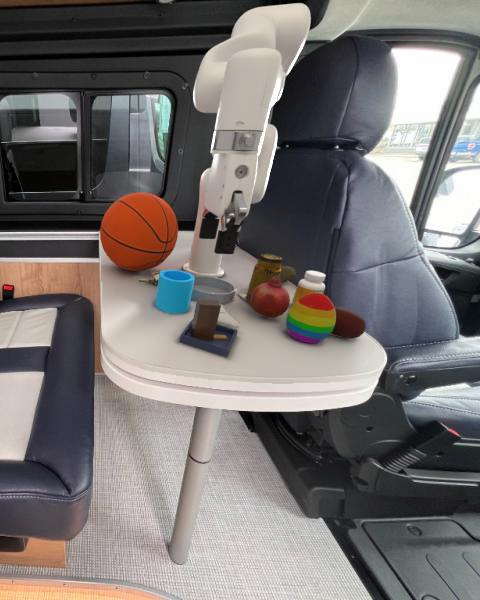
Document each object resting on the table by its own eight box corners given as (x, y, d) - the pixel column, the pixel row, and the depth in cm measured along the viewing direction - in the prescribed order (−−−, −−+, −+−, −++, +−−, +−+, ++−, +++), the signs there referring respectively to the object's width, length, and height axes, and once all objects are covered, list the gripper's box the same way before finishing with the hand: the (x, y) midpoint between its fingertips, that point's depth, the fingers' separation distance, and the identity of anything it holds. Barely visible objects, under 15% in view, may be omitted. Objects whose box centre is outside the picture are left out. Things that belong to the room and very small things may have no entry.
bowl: (190, 281, 96) (192, 272, 94) (237, 292, 89) (240, 282, 88) (176, 296, 86) (178, 286, 84) (227, 309, 79) (230, 298, 78)
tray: (192, 324, 72) (193, 317, 71) (236, 337, 67) (237, 330, 67) (179, 342, 65) (180, 334, 64) (227, 357, 61) (229, 350, 60)
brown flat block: (189, 333, 67) (196, 299, 64) (223, 335, 67) (232, 301, 63) (192, 339, 65) (200, 304, 62) (227, 341, 65) (237, 306, 61)
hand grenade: (294, 283, 97) (262, 289, 96) (283, 270, 100) (252, 277, 100) (301, 271, 93) (268, 278, 93) (289, 259, 97) (257, 265, 96)
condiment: (264, 294, 88) (276, 252, 83) (282, 308, 81) (297, 263, 75) (238, 294, 88) (249, 252, 83) (254, 308, 80) (267, 262, 75)
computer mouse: (136, 278, 96) (137, 265, 95) (185, 280, 96) (188, 267, 94) (139, 288, 90) (141, 274, 88) (192, 290, 89) (195, 276, 88)
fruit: (283, 313, 78) (296, 275, 74) (284, 328, 72) (298, 286, 67) (247, 306, 81) (257, 268, 77) (245, 319, 75) (256, 279, 71)
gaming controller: (243, 317, 67) (209, 314, 67) (239, 333, 68) (205, 330, 69) (228, 298, 76) (198, 295, 77) (224, 313, 78) (195, 310, 78)
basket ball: (78, 249, 108) (95, 179, 94) (131, 244, 120) (154, 181, 106) (120, 291, 93) (147, 215, 79) (175, 280, 106) (208, 212, 92)
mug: (187, 316, 75) (194, 284, 72) (152, 310, 78) (157, 278, 74) (190, 296, 86) (195, 267, 82) (159, 291, 88) (163, 263, 85)
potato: (362, 319, 70) (347, 343, 70) (318, 300, 73) (304, 323, 73) (380, 319, 63) (362, 346, 63) (330, 298, 66) (314, 323, 67)
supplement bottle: (307, 316, 77) (321, 278, 73) (285, 307, 81) (297, 271, 77) (320, 312, 79) (334, 275, 75) (298, 303, 84) (310, 268, 80)
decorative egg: (333, 339, 67) (352, 296, 63) (317, 351, 63) (336, 306, 59) (292, 323, 73) (306, 282, 69) (274, 333, 69) (289, 291, 65)
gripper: (287, 145, 45) (254, 261, 52) (239, 144, 60) (219, 234, 68) (232, 143, 45) (208, 259, 53) (198, 143, 61) (183, 233, 68)
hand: (214, 245), depth 60 cm, fingers open, 9 cm apart
